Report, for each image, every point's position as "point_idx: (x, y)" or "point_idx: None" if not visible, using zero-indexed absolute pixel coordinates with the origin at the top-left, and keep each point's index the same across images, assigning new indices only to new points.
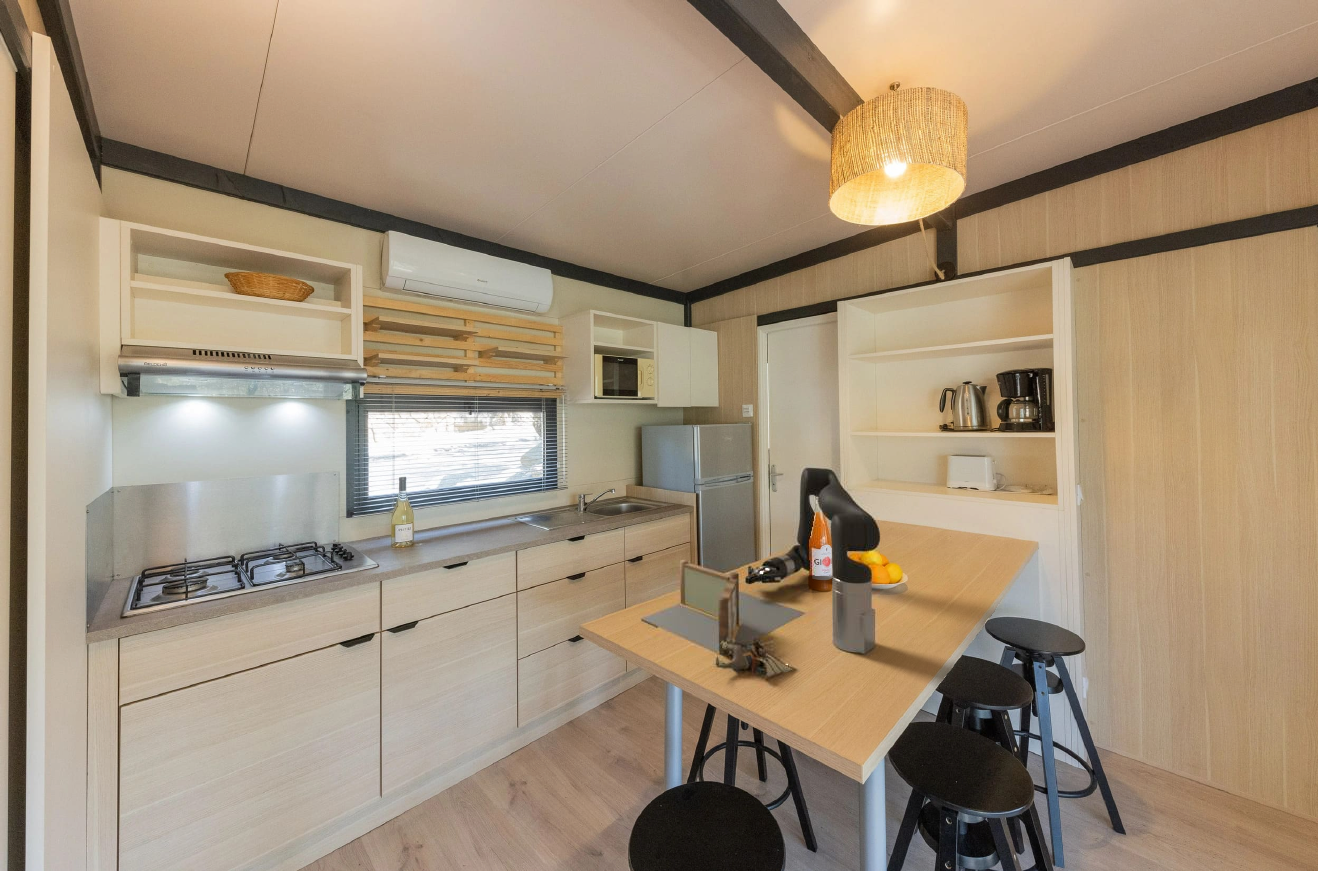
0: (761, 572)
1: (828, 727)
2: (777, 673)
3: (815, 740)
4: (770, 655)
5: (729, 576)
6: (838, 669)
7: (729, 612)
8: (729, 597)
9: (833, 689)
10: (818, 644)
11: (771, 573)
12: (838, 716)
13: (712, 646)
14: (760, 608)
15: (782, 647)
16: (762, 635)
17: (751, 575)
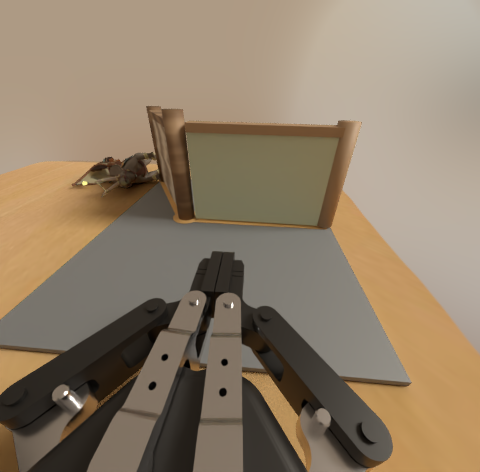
0: (179, 330)
1: (55, 167)
2: (96, 176)
3: (69, 162)
4: (100, 164)
5: (188, 122)
6: (5, 205)
7: (158, 142)
8: (150, 113)
9: (32, 186)
10: (13, 233)
11: (96, 410)
12: (41, 173)
13: None
14: (158, 285)
15: (90, 209)
16: (126, 211)
17: (219, 272)
